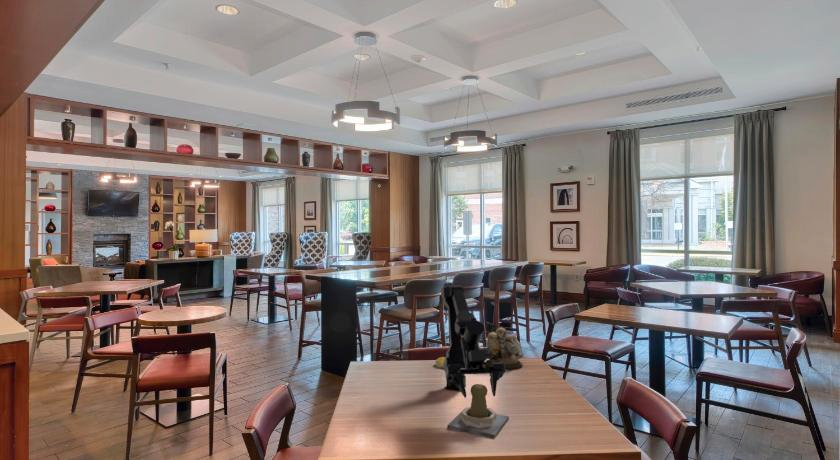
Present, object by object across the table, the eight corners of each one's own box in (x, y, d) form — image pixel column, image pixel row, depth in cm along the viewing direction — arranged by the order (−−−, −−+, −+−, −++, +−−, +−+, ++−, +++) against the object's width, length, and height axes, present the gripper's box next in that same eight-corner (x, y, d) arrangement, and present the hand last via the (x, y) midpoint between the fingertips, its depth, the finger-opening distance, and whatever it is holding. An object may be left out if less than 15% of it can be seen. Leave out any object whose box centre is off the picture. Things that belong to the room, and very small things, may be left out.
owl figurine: (484, 370, 204) (484, 330, 204) (479, 363, 215) (479, 325, 215) (526, 369, 205) (525, 330, 205) (518, 362, 216) (518, 324, 216)
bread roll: (441, 362, 216) (440, 353, 216) (458, 365, 211) (458, 356, 211) (431, 367, 209) (431, 358, 209) (449, 370, 204) (449, 361, 204)
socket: (447, 428, 144) (447, 417, 144) (464, 411, 158) (464, 400, 158) (495, 438, 138) (495, 426, 138) (508, 419, 151) (508, 408, 151)
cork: (481, 426, 144) (481, 389, 143) (465, 420, 148) (465, 385, 148) (492, 420, 148) (492, 385, 148) (476, 414, 152) (476, 380, 152)
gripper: (447, 339, 150) (454, 385, 139) (503, 337, 153) (515, 382, 142) (442, 357, 158) (449, 402, 147) (496, 355, 161) (506, 399, 150)
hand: (480, 396), depth 146 cm, fingers open, 9 cm apart
